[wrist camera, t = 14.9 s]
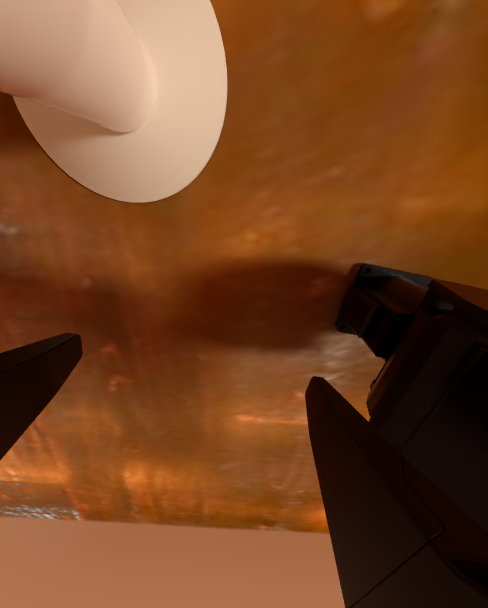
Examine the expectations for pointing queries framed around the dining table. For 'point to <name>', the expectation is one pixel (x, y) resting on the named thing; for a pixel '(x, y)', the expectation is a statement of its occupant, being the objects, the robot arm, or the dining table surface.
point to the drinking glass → (77, 60)
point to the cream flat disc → (164, 119)
